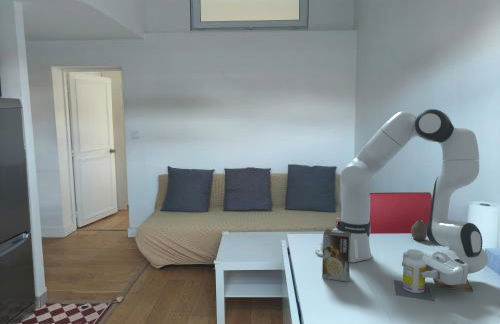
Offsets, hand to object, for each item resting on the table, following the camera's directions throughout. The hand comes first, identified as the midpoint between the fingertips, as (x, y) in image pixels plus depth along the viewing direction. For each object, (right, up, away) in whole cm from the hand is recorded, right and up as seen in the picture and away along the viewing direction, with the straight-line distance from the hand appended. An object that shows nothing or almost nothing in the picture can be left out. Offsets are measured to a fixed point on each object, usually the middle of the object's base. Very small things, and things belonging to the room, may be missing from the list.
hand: (412, 269), depth 119 cm
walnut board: (+17, -6, +7) cm, 19 cm away
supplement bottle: (+1, -7, +1) cm, 7 cm away
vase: (+26, -1, +52) cm, 58 cm away
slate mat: (+1, -7, +1) cm, 7 cm away
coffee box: (-22, -6, +11) cm, 26 cm away
